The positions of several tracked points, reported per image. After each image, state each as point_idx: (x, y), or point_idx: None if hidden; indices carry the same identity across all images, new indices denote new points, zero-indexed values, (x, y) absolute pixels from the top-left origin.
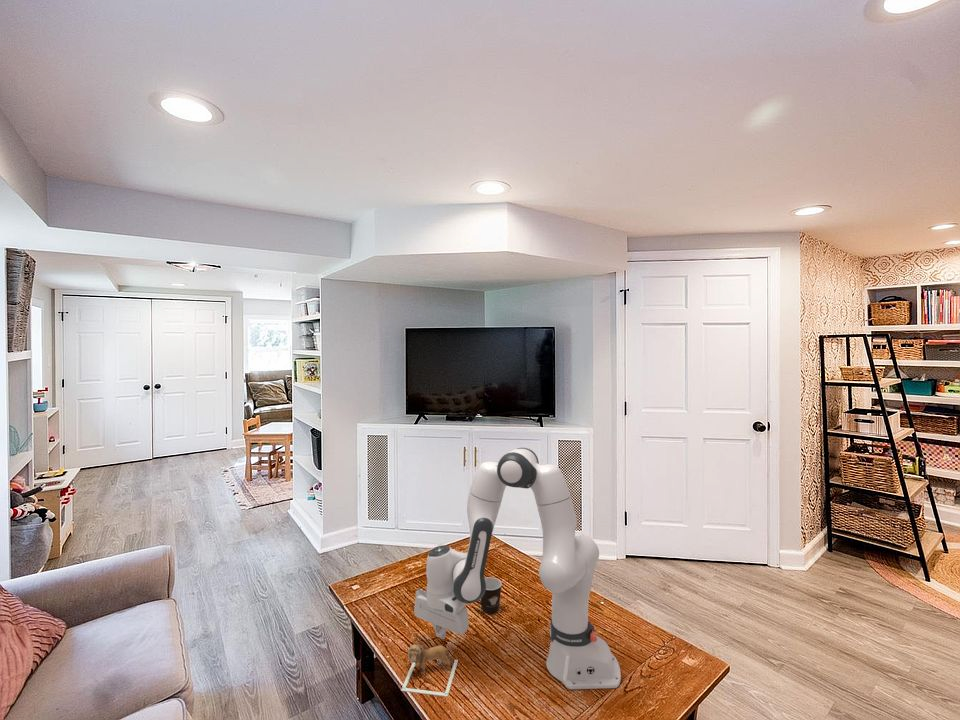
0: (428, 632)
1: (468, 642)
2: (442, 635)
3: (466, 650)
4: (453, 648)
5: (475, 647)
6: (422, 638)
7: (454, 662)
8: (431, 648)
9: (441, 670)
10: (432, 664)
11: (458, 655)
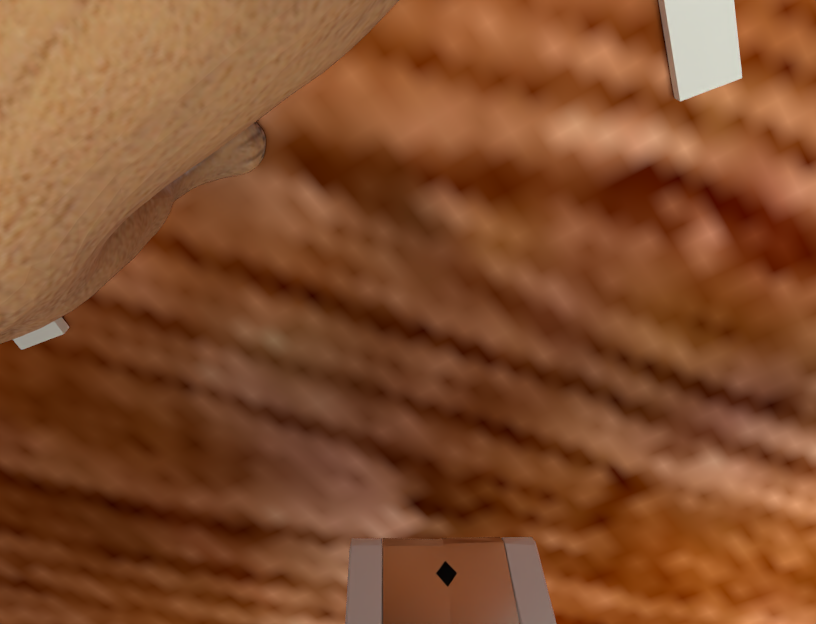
0: (746, 531)
1: (186, 610)
2: (348, 610)
3: (100, 521)
4: (268, 477)
5: (55, 592)
6: (785, 426)
7: None
8: (101, 4)
9: None
10: None
11: (110, 417)
